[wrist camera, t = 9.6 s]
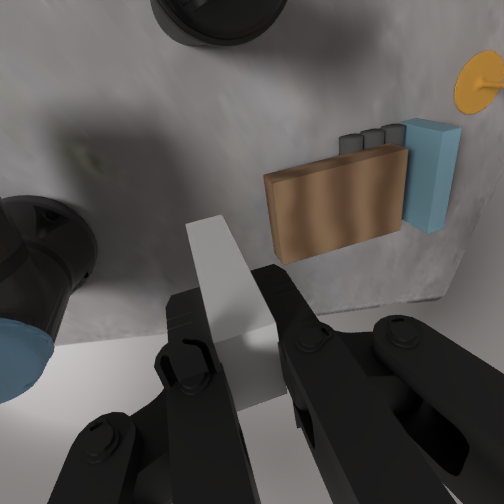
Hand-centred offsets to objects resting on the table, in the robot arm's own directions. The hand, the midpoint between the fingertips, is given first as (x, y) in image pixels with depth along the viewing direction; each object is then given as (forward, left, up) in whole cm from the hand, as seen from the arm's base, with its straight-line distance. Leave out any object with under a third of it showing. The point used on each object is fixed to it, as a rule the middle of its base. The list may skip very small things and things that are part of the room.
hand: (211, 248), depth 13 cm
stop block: (+36, -15, -34) cm, 52 cm away
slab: (+21, -15, -31) cm, 40 cm away
